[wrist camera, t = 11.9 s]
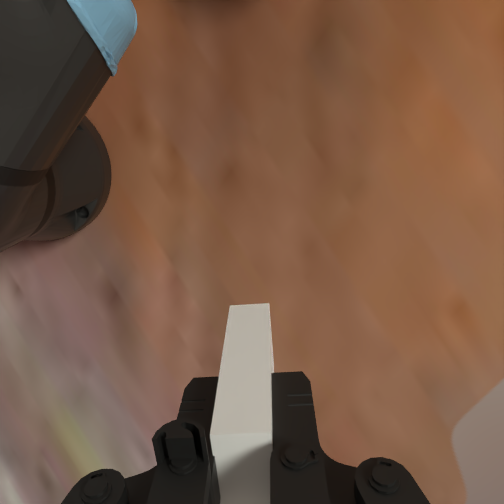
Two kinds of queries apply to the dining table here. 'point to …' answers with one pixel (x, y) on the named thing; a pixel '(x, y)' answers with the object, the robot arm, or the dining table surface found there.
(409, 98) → the dining table surface
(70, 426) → the dining table surface
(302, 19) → the dining table surface
